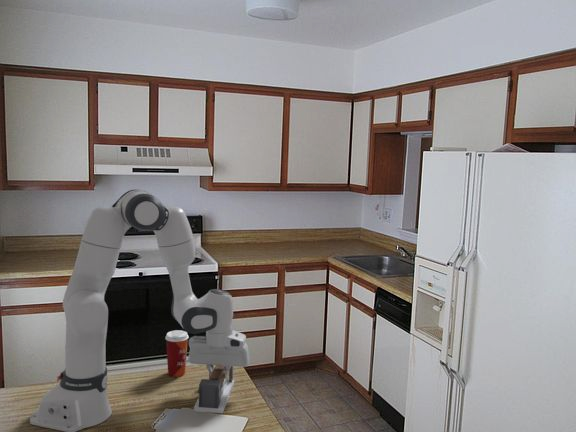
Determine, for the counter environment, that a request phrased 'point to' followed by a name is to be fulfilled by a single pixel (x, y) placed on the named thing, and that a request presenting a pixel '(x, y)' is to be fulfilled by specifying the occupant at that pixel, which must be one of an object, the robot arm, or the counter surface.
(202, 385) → the endcap frame
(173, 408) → the counter surface
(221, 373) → the slat
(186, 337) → the coffee cup
